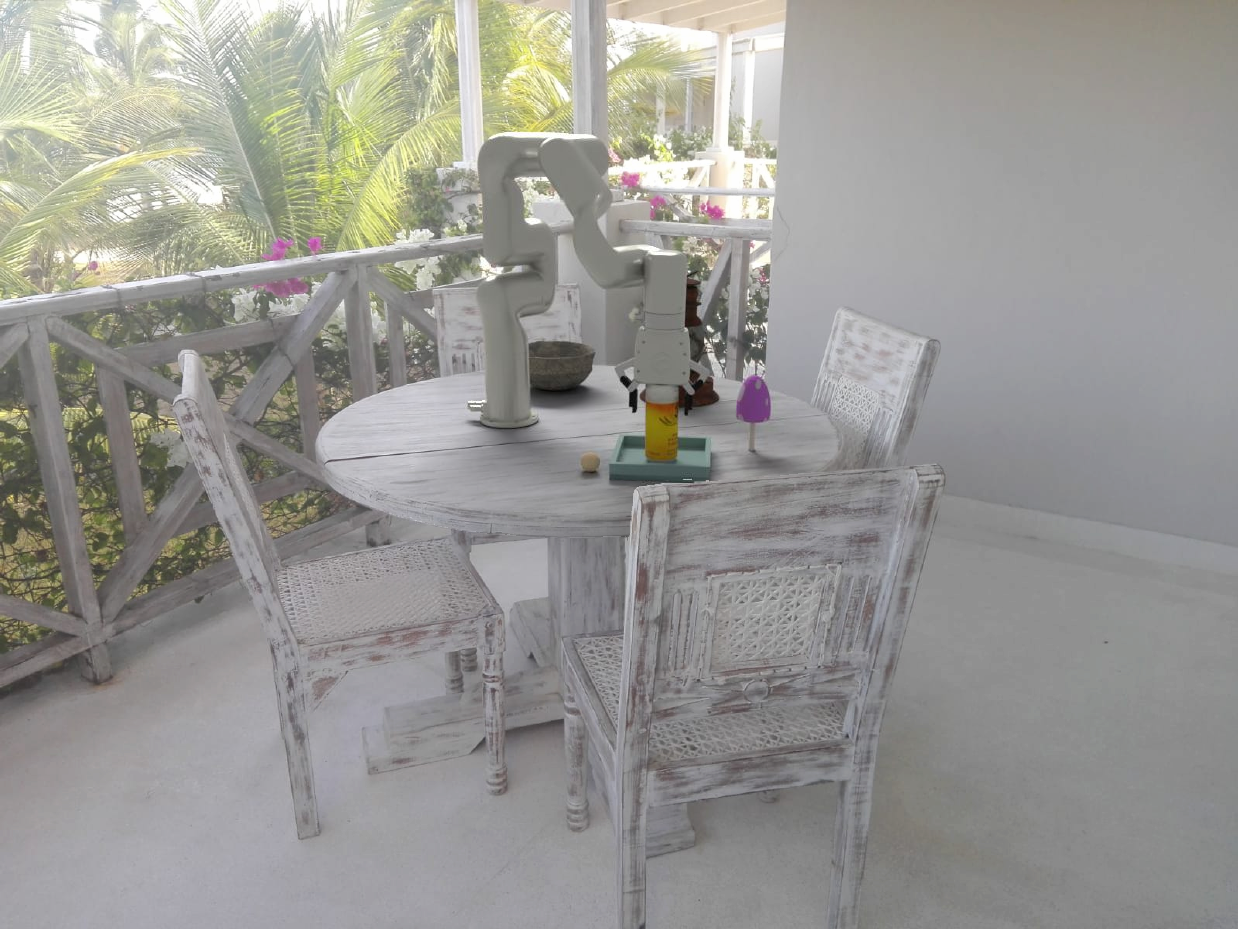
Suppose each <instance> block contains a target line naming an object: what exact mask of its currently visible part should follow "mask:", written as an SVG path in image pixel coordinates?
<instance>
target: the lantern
mask: <svg viewBox="0 0 1238 929" xmlns="http://www.w3.org/2000/svg"><path fill="white" fill-rule="evenodd" d="M698 272H699V270H696V271H693V272H691V273H689V274H688V273H687V281H686V304H685V328H687V329H688V332H689V339H690V359H691V360H693V361H694V362H696V363H698V364H699V362H700V361H701V358H702V356H703V355H704V354H707V353H708V352H709V350H708V347H707V346H708V344H705V337H706V338H708V336H707V333H706V331H705V328H704V325H703V321H702V319H701V318H700V316H698V307H699V306H700V307H701V305H702V302H701V301H697V299H698V297H699V296H698V295H699V290H698V285H701V281H700V280H698V279H694V278H690V277H692V276H694V275H696V274H697V273H698ZM704 347H705V349H704ZM699 376H700V374H699V373H698V372H696V371H694V370H692V369H691V368H690V376H689V380H690V381H691V382H692V384H693V383H694V382H695V381H696V380H697V379H698V378H699ZM646 386H647V384H645V388H644V389H643V390H642V391H641V392H640V393H639V394H638V395H639V396H638V397H639V399H640V400H641V401H642V402H644V403H646ZM678 387H679V402H678V409H681V408H682V409H685V393H686V390H685V388H684V387H683V386H682V385H680V386H678ZM719 400H720V395H719V393H718V392H716V391H715V390H714V378H713V377H712V376H710V375H709V376H708V377H707V379H706V380H705V382H704V384H703V386H701V387H700V388H699V389H698V390H697V391H696V392H695V393H694V394H693V407H692V408H699V407H704V406H705V407H706V406H709V405H712V404H713V405H714V404H715V403H717V402H718V401H719Z"/></svg>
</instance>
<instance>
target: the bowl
mask: <svg viewBox="0 0 1238 929" xmlns="http://www.w3.org/2000/svg"><path fill="white" fill-rule="evenodd" d="M528 343H529V342H528ZM596 351H597V350H596V349H595V348H594V347H593V346H590V345H588V344H585V343H580V342H573V341H568V340H537V341H535V342H530V343H529V368H530V386H532V387H534V388H537V389H542V390H546V391H547V390H548V391H564V390H566V391H567V390H571V389H573V388H575V387H579V385H581V384H582V383H584V382H585V381H586V380H587V378H588V377H589V376H590V375H591V373H592V372H593V364H594V363H593V362H594V358H595V355H596Z"/></svg>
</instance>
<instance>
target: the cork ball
mask: <svg viewBox="0 0 1238 929" xmlns="http://www.w3.org/2000/svg"><path fill="white" fill-rule="evenodd" d="M600 465H601V458H600V457H599V456H598V455H597V453H595V452H592V451H590V452H586V453H584V454H583V455H582V456H581V458H580V466H581V468H582V469H583V470H584V471H586V472H588V473H590V472H595V471H596V470H598V468H599V467H600Z"/></svg>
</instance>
